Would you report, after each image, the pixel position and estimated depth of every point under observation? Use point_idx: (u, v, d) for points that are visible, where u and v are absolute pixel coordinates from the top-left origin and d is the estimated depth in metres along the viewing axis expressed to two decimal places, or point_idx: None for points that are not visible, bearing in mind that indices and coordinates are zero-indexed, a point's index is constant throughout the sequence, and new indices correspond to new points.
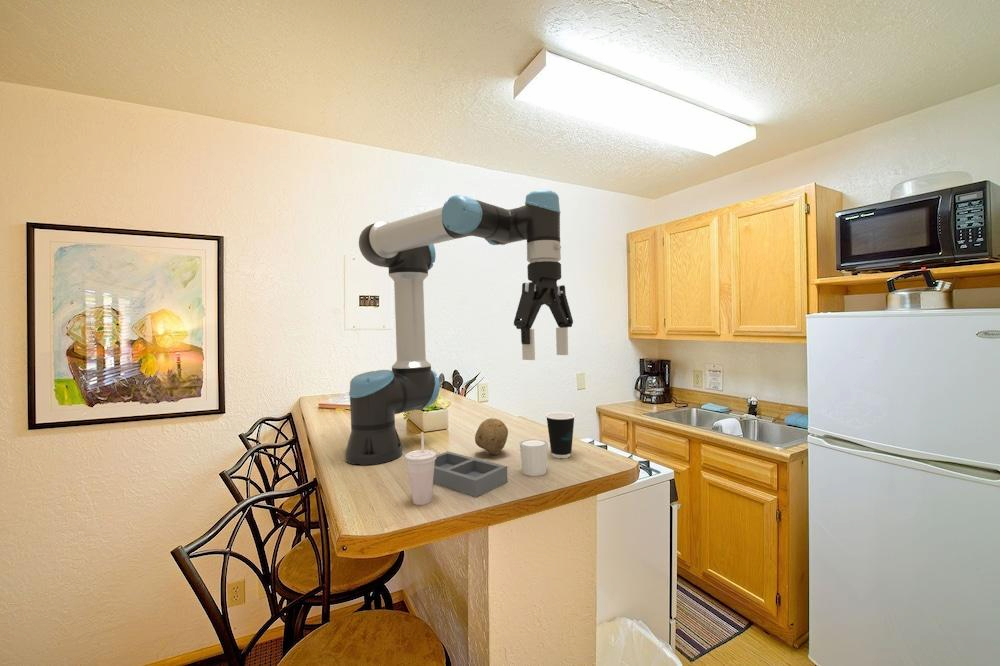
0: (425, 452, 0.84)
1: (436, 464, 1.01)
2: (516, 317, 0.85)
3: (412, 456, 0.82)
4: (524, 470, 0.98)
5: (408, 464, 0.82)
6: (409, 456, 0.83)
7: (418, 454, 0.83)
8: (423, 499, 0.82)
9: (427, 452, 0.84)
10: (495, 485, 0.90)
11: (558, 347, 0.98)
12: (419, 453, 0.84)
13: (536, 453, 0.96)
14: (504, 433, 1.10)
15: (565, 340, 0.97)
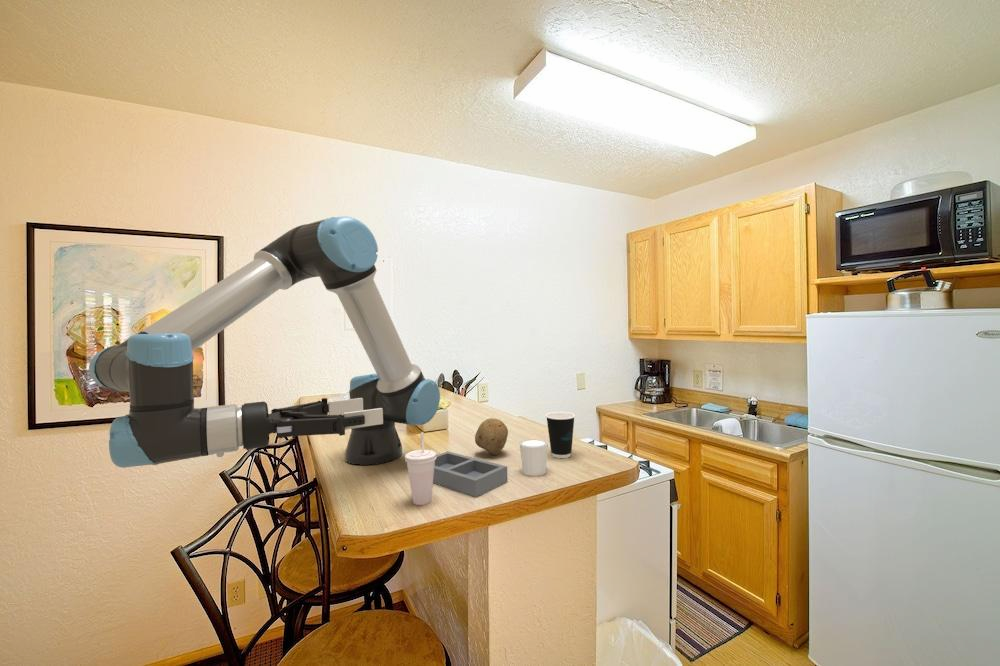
0: (425, 452, 0.84)
1: (436, 464, 1.01)
2: None
3: (412, 456, 0.82)
4: (524, 470, 0.98)
5: (408, 464, 0.82)
6: (409, 456, 0.83)
7: (418, 454, 0.83)
8: (423, 499, 0.82)
9: (427, 452, 0.84)
10: (495, 485, 0.90)
11: None
12: (419, 453, 0.84)
13: (536, 453, 0.96)
14: (504, 433, 1.10)
15: None
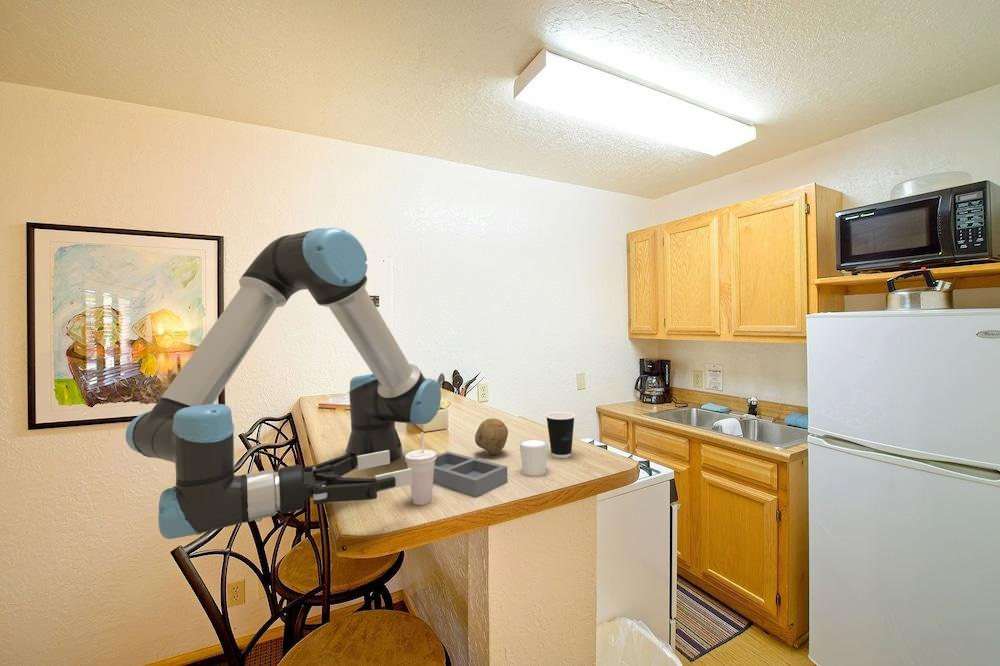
0: (425, 452, 0.84)
1: (436, 464, 1.01)
2: None
3: (412, 456, 0.82)
4: (524, 470, 0.98)
5: (408, 464, 0.82)
6: (409, 456, 0.83)
7: (418, 454, 0.83)
8: (423, 499, 0.82)
9: (427, 452, 0.84)
10: (495, 485, 0.90)
11: None
12: (419, 453, 0.84)
13: (536, 453, 0.96)
14: (504, 433, 1.10)
15: None
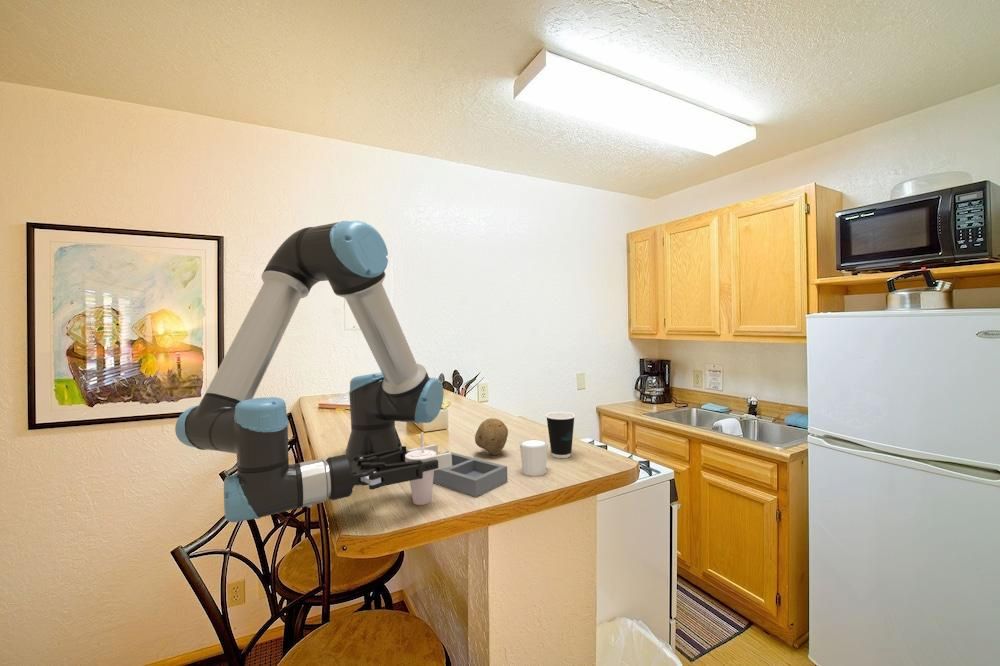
0: (425, 452, 0.84)
1: None
2: None
3: (412, 456, 0.82)
4: (524, 470, 0.98)
5: None
6: (409, 456, 0.83)
7: (418, 454, 0.83)
8: (423, 499, 0.82)
9: (427, 452, 0.84)
10: (495, 485, 0.90)
11: None
12: (419, 453, 0.84)
13: (536, 453, 0.96)
14: (504, 433, 1.10)
15: None
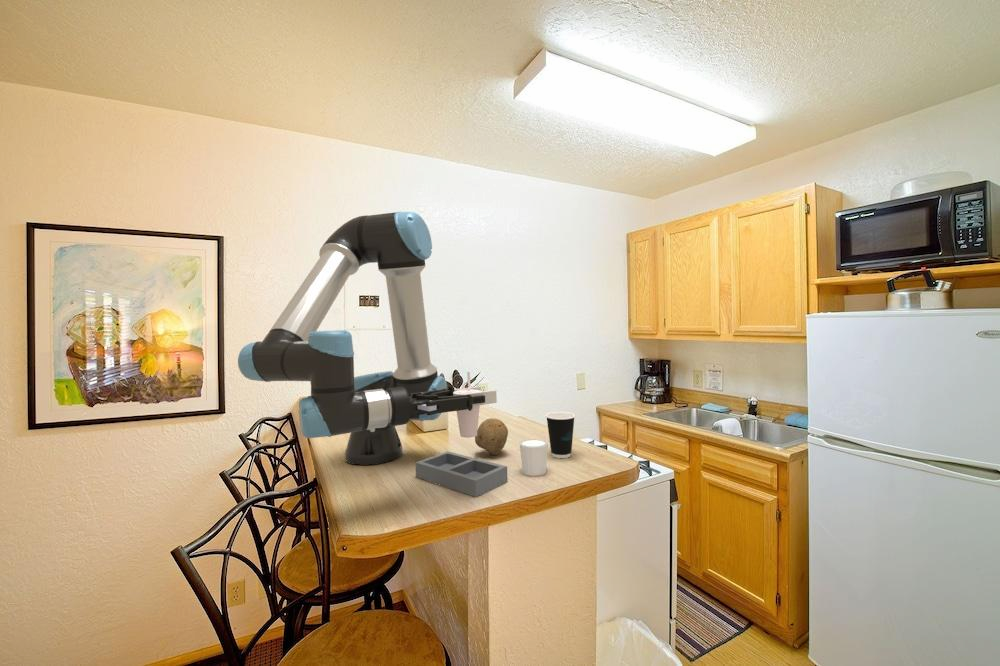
0: (471, 390, 0.91)
1: (436, 464, 1.01)
2: None
3: (460, 392, 0.89)
4: (524, 470, 0.98)
5: None
6: (457, 393, 0.90)
7: (465, 391, 0.90)
8: (470, 432, 0.89)
9: (473, 390, 0.91)
10: (495, 485, 0.90)
11: None
12: (466, 391, 0.91)
13: (536, 453, 0.96)
14: (504, 433, 1.10)
15: None
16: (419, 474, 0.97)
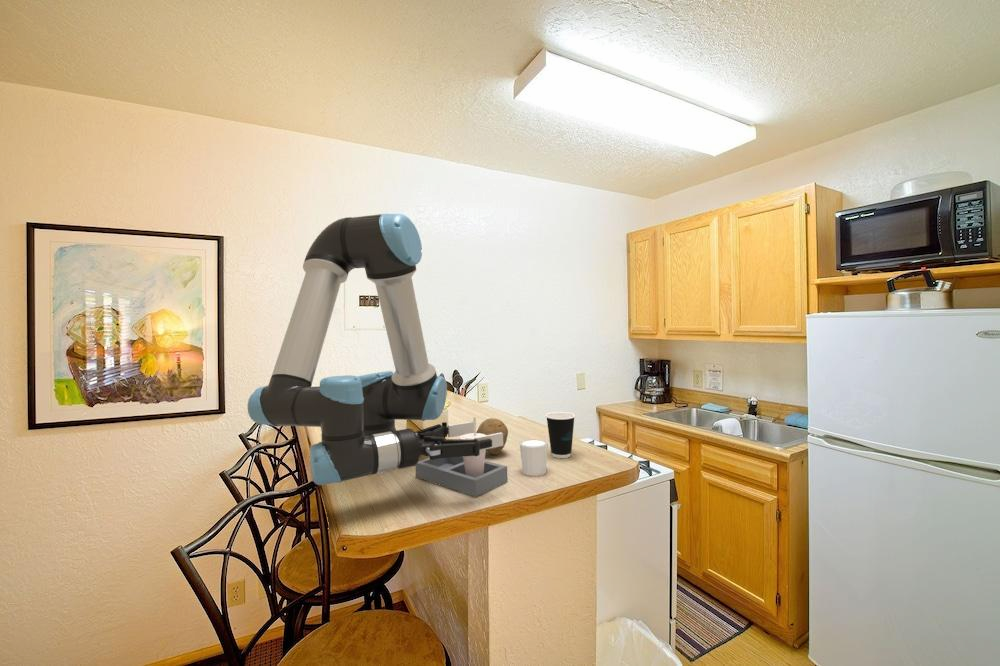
0: (477, 435, 0.93)
1: (436, 464, 1.01)
2: None
3: (466, 438, 0.91)
4: (524, 470, 0.98)
5: None
6: (463, 438, 0.91)
7: (471, 436, 0.91)
8: None
9: (479, 435, 0.93)
10: (495, 485, 0.90)
11: None
12: (472, 436, 0.92)
13: (536, 453, 0.96)
14: (504, 433, 1.10)
15: None
16: (419, 474, 0.97)
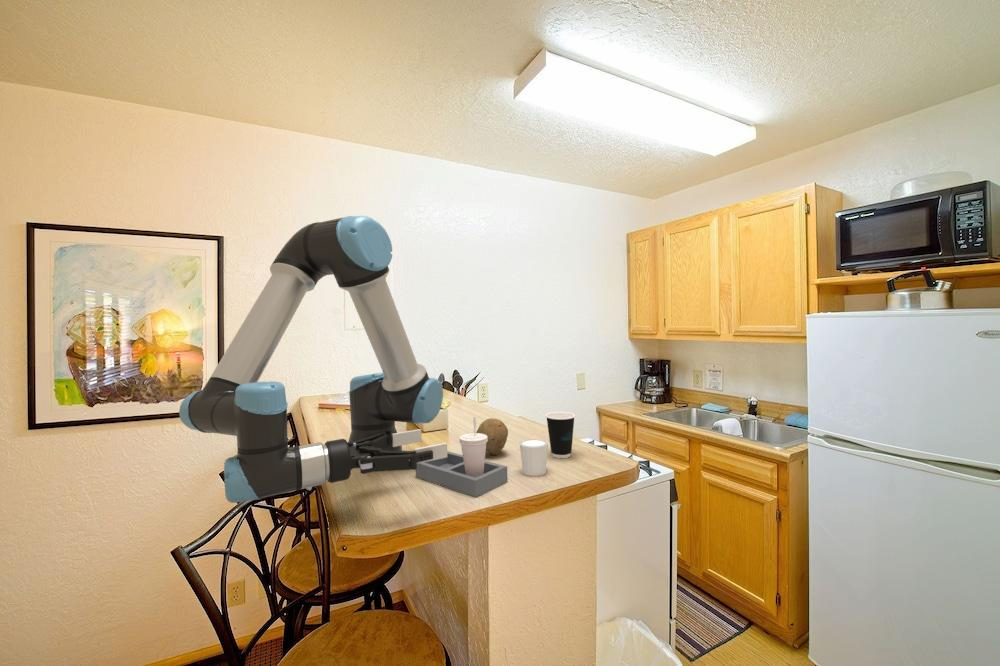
0: (477, 435, 0.93)
1: (436, 464, 1.01)
2: None
3: (466, 438, 0.91)
4: (524, 470, 0.98)
5: (463, 445, 0.90)
6: (463, 438, 0.91)
7: (471, 437, 0.91)
8: None
9: (479, 435, 0.93)
10: (495, 485, 0.90)
11: None
12: (472, 436, 0.92)
13: (536, 453, 0.96)
14: (504, 433, 1.10)
15: None
16: (419, 474, 0.97)
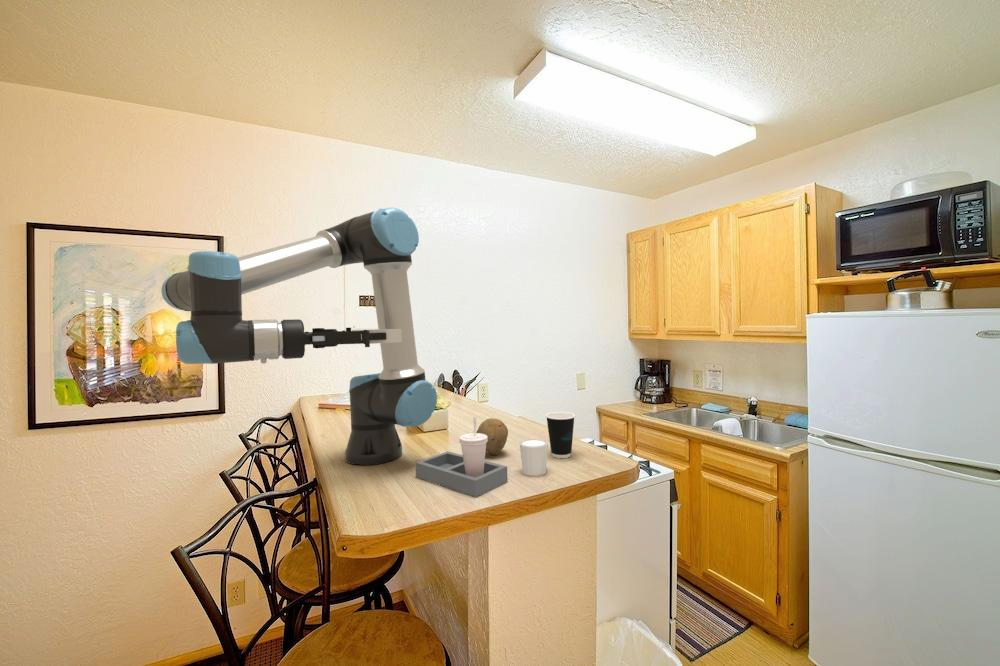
0: (477, 435, 0.93)
1: (436, 464, 1.01)
2: None
3: (466, 438, 0.91)
4: (524, 470, 0.98)
5: (463, 445, 0.90)
6: (463, 438, 0.91)
7: (471, 437, 0.91)
8: None
9: (479, 435, 0.93)
10: (495, 485, 0.90)
11: None
12: (472, 436, 0.92)
13: (536, 453, 0.96)
14: (504, 433, 1.10)
15: None
16: (419, 474, 0.97)
